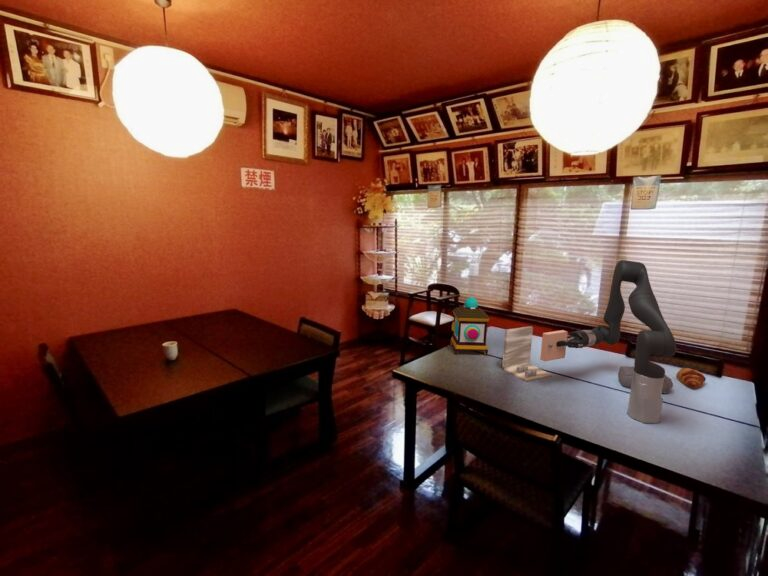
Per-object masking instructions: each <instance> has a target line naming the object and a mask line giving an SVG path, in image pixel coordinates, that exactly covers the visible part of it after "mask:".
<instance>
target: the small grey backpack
mask: <svg viewBox="0 0 768 576" xmlns="http://www.w3.org/2000/svg"><path fill="white" fill-rule="evenodd" d="M633 372H634V366H620V368H619V370H618V373H617V374H618V376H617V377H618V381H619V383H620V385H621V386H622V387H625V388H629V389H631V385H632V378H633ZM673 387H674V384H673V380H672V378H670V377H669V376H667V375H666V374H665V376H664V382H663V387H662V393H661V394H667V393H670V391H671V389H673Z"/></svg>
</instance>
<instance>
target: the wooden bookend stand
mask: <svg viewBox="0 0 768 576" xmlns="http://www.w3.org/2000/svg"><path fill="white" fill-rule="evenodd" d="M504 330H505V331H504V341H503V342H504V343H503V353H502V354H503V355H502V367H501V369H502V371H503V370H504V371H505V372H507V373H509V374H510V375H512V376H514V377H516V378H518V379H519V380H521V381H523V382H524V383H525V382H526V383H528V382H532V381H537V380H538V381H539V380H542V379H547V378H551V377H553V374H552V373H550V372H547V371H545V370H544V369H542V368H539V367H537V366H535V365H534V364H531V363H530V361H531V353H532V352H531V350H532V342H533V341H532V340H533V332H534V327H533V326H522V327H515V328H508V329H504Z"/></svg>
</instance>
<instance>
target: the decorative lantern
mask: <svg viewBox="0 0 768 576" xmlns="http://www.w3.org/2000/svg"><path fill="white" fill-rule="evenodd" d="M478 305H479V303H478V300H477V299H476V298H474V297H472V296H471V297H468V298H467V299H466V300H465V301H464V304H462V305H461V306H459V307H455V308H454V309H452V313H453V321H452V322H451V327H450V328H451V331H452V336H451V338H450V345H451V346H453V348H454V354H455V355H456V356H458V353H459V351H473V352H474V351H475V352H478V351H479V352H482V351H483V352H484V356H488V353H489V351H488V350H489V349H488V346H487V334H488V333H487V332H488V323H489V321H490V317H489V316H488V314H487V313H486V312H485V311H484V310H483V309H482V308H480V307H479V306H478Z"/></svg>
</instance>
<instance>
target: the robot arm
mask: <svg viewBox="0 0 768 576" xmlns="http://www.w3.org/2000/svg"><path fill="white" fill-rule="evenodd" d="M649 278H650V277H649V274H648V270H647V267H646V265H645V264H644V263H642V262H640V261H639V262H638V261H633V260H626V259H625V260H624V259H620V260H619V261H618V262H617V263H616V265H615V267H614V270H613V273H612V281H611V286H610V293H609V297H608V302H607V305H606V309H605V312H604V315H603V319H602V320H603V321H604V323H606V325H603V324H600V325H597V326H595V327H594V328H592V329H582V330H575V331H571V332H570V333H569V334H567V340H564V341H558V342H557V344H556V346H557V347H560V346H565V347H566V348H570V349H571V348H572V349H583V348H587V347H591V346H596V345H599V344H601V343H605V344H607V345H609V346H614V345H617V343H618V342H619V341H620V338H621V323H622V320H623V316H624V313H625V310H626V309H625V308H626V305H625V301H624V298H623V294H622V292H621V291H622V290H621V285H622V282H626V283H632V284H634V285H635V288H634V289H632V292H631V293H630V294H629V296H628V298H627V299H628V300H627V301H628V305H629V309H630V311H631V313H632V315H633V316H634V317H635V318H636V319H637V320H638V321H640V322H641V323H642V324H644V325H645V326H646V327H648V328H649V329H650V330H646V329H642V330H640V331H639V332H638V333H637V335H636V336H637V337H636V341H635V342H636V343H635V355H634V362H633V363H634V366H633V367H634V372H633V378H632V385H631V388H630V391H629V392H630V393H629V398H628V403H627V404H628V406H627V413H626V414H627V415H628V416H629V417H630V418H632V419H634V420H635V421H639V422H641V423H643V424H651V423H653V424H657V423H658V424H659V423H660V418H661V411H662V407H663V401H664V399H663V398H662V394H663V393H662V387H663V382H664V376H665V375H666V369H665V368H664V367H663V366H661V365H660V364H657V363H655V362H652V361H651V360H650V357H653V358H654V357H655V358H663V359H664V358H665V359H666V358H667V359H668V358H671V357H673V356H675V354H676V351H677V344H676V340H675V337H674V334H673V333H672V331H671V329H670V327H669V326H668V324H667V322H666V320H665V318H664V317H663V314H662V311H661V309H660V306H659V302H658V300H657V298H656V296H655V293H654V292H653V289H652V285H651V282H650V279H649ZM607 325H608V326H607Z"/></svg>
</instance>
